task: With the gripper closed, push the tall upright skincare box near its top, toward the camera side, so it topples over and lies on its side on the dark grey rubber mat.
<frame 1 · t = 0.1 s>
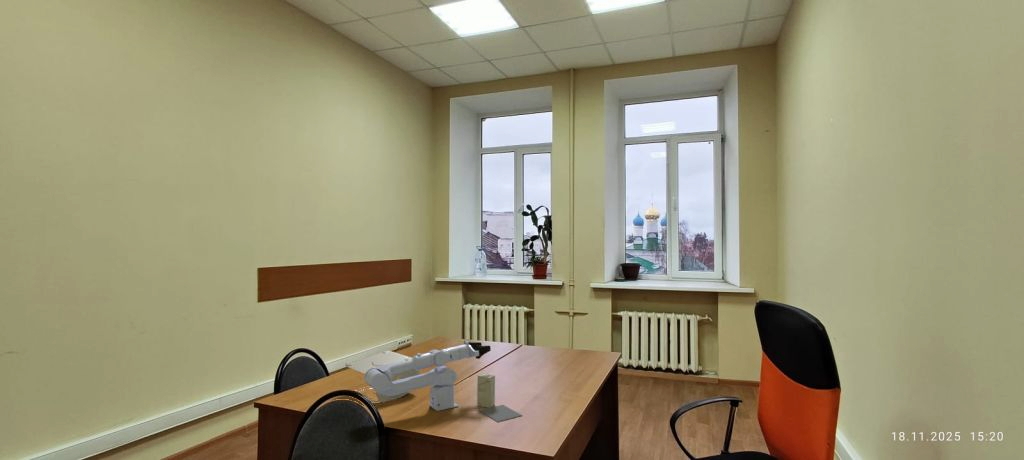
hand: (485, 346, 199), 22 cm above the table, tool horizontal, fingers open, 7 cm apart
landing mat: (500, 413, 179), on the table
portable electronic device stand: (382, 393, 206), on the table
skincare box: (486, 405, 188), on the table
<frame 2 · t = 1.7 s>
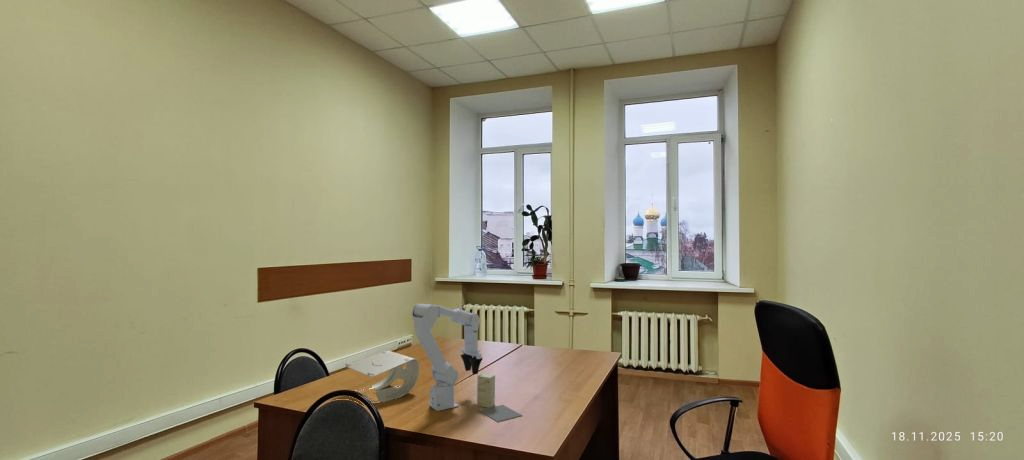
hand: (471, 372, 199), 10 cm above the table, tool pointing down, fingers open, 6 cm apart
nothing on the table moved.
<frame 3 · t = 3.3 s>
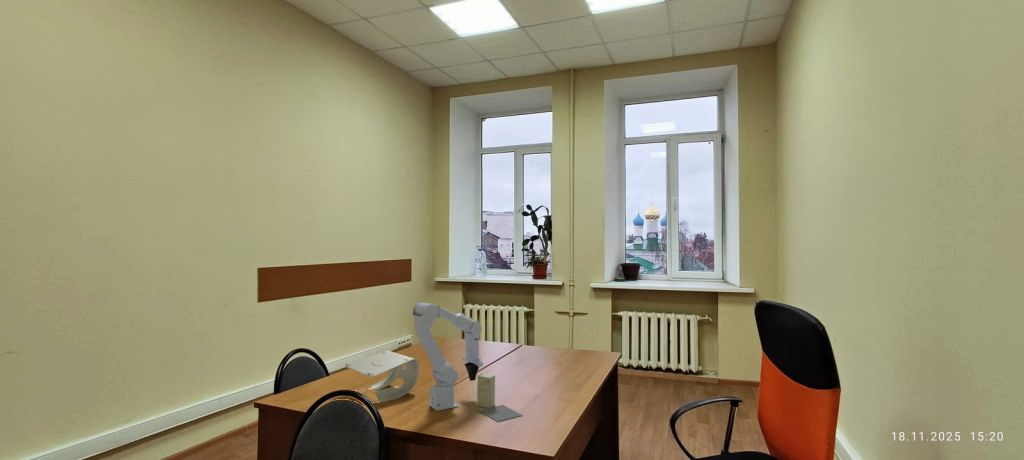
hand: (472, 380, 198), 7 cm above the table, tool pointing down, fingers closed
nothing on the table moved.
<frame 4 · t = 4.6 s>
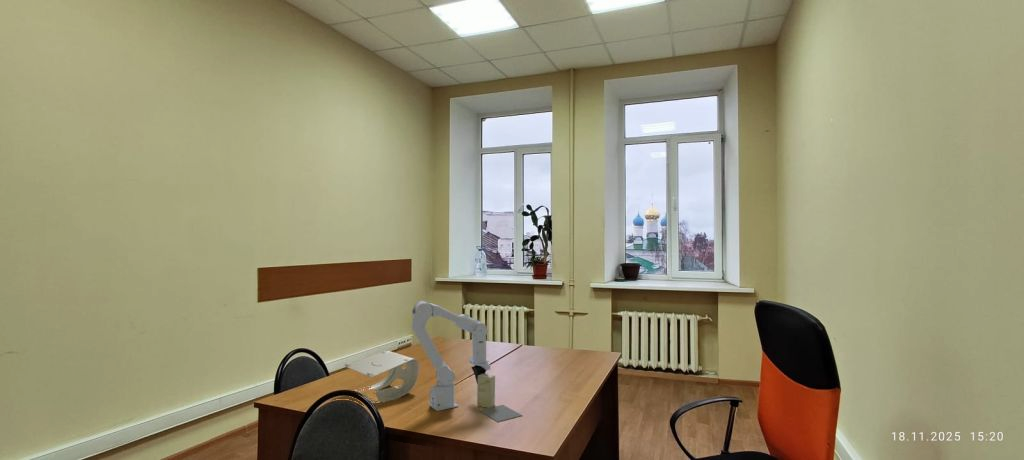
hand: (479, 383, 193), 7 cm above the table, tool pointing down, fingers closed
skincare box: (486, 405, 188), on the table, touching gripper
everything else where it was.
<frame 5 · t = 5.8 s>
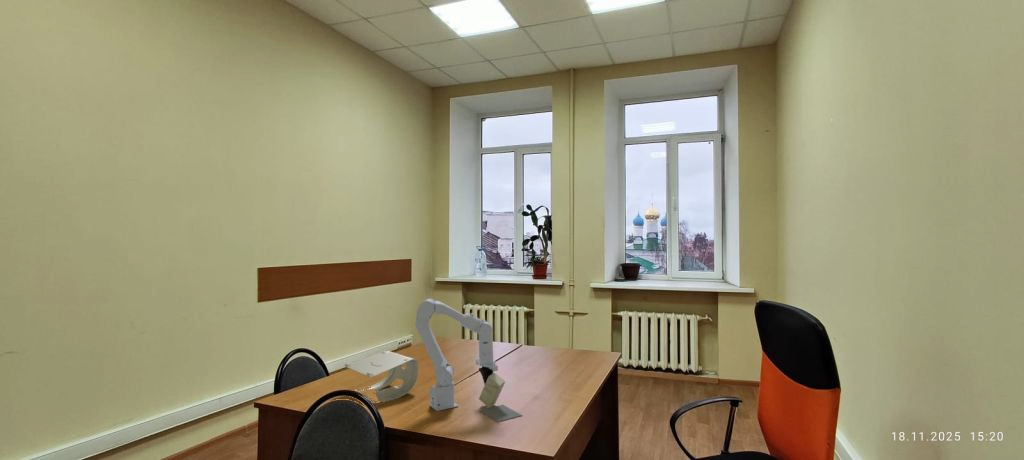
hand: (487, 385, 189), 8 cm above the table, tool pointing down, fingers closed, pressing on skincare box
skincare box: (487, 401, 188), point 1 cm above the table, touching gripper
everything else where it was.
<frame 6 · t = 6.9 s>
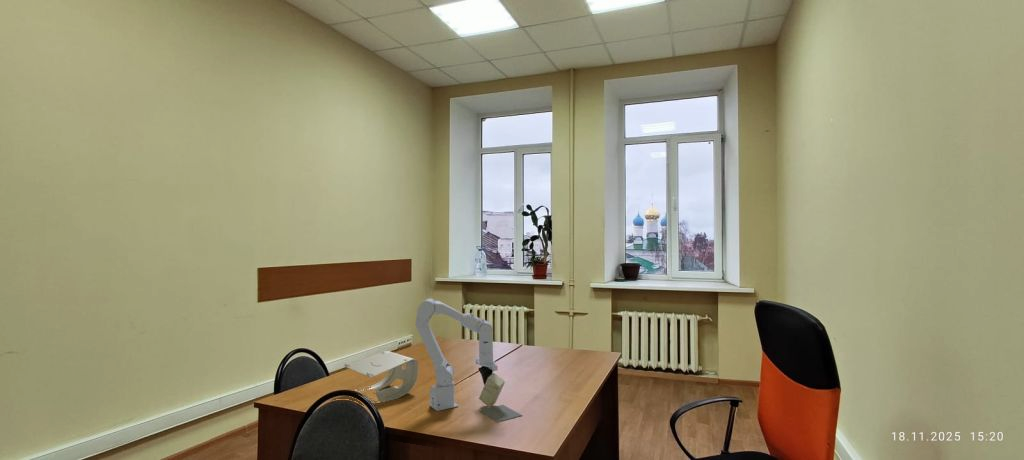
hand: (486, 384, 188), 8 cm above the table, tool pointing down, fingers closed, pressing on skincare box
skincare box: (487, 401, 188), point 2 cm above the table, touching gripper
everything else where it was.
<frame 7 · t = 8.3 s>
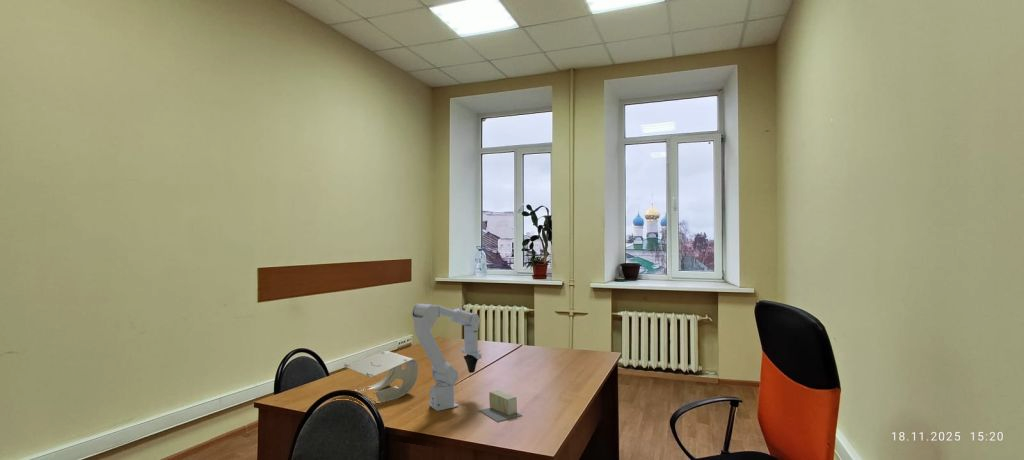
hand: (471, 372, 199), 10 cm above the table, tool pointing down, fingers closed
skincare box: (493, 398, 187), point 3 cm above the table, touching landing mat
everything else where it was.
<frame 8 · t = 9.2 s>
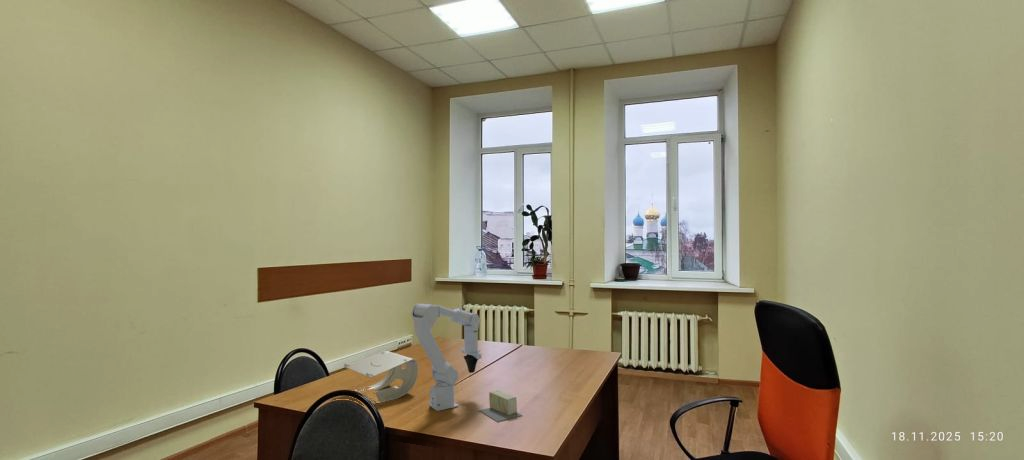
hand: (471, 372, 199), 10 cm above the table, tool pointing down, fingers closed
nothing on the table moved.
at the end: skincare box tilted 89°; skincare box touching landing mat; skincare box inside the target area (1.8 cm from its centre), point 3.2 cm above the table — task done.
